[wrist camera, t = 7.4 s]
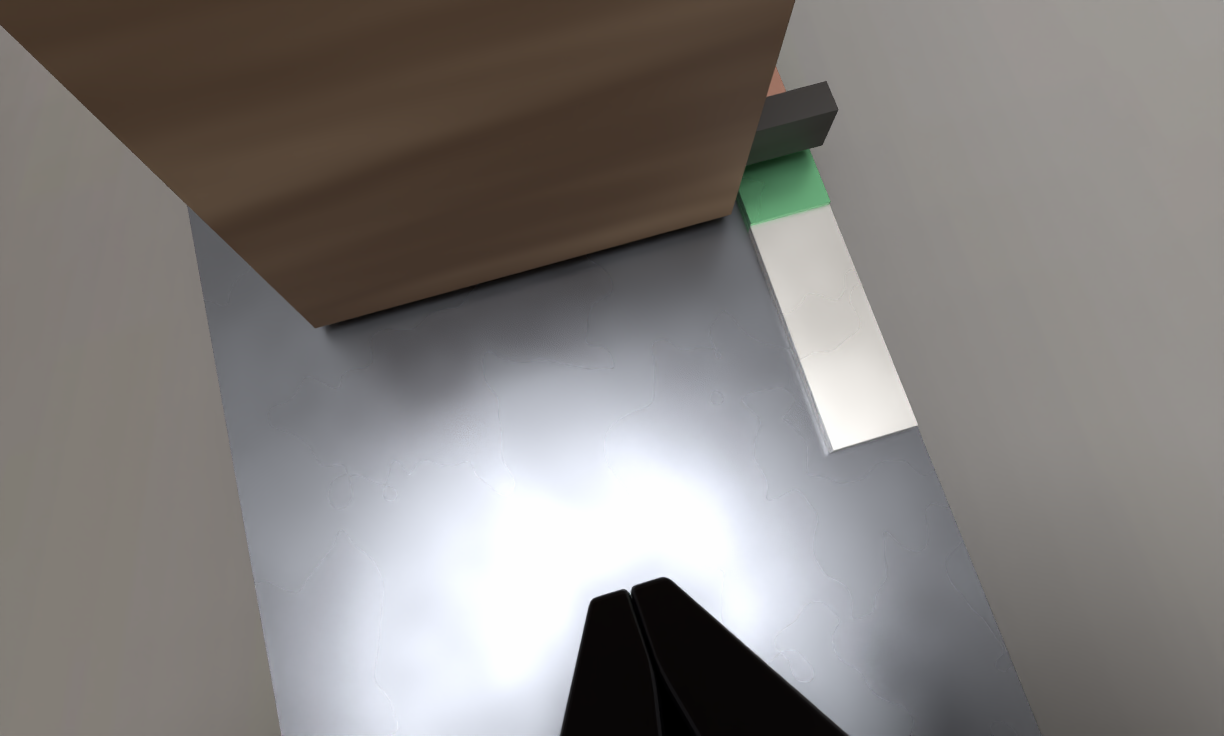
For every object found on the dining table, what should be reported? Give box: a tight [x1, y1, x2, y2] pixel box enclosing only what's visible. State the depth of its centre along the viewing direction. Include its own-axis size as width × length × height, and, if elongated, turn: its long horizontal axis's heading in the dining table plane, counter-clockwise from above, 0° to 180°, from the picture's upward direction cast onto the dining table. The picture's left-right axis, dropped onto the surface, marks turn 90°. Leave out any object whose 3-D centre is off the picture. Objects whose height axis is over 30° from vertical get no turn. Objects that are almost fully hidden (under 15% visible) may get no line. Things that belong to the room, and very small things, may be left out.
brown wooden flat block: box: [0, 0, 838, 328], centre depth 12 cm, size 2×10×10 cm, turn 106°
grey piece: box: [187, 66, 1042, 736], centre depth 12 cm, size 22×12×11 cm, turn 17°
